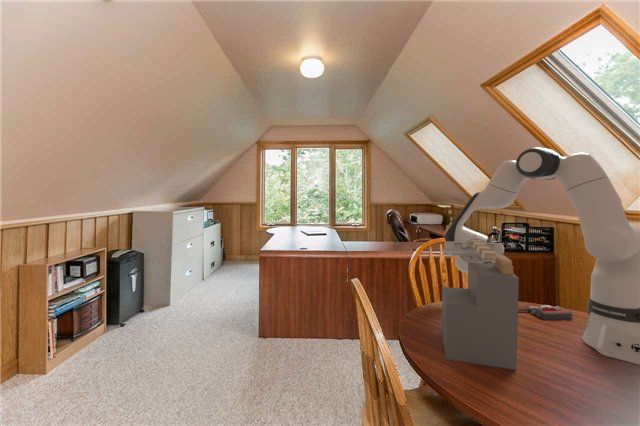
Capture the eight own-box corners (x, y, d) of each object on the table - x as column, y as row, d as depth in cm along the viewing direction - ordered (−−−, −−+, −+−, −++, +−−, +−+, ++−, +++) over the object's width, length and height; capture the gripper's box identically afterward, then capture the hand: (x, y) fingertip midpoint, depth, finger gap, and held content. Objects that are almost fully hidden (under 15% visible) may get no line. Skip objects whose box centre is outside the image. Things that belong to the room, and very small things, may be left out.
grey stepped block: (441, 334, 101) (442, 250, 99) (500, 342, 95) (502, 253, 93) (446, 359, 86) (446, 260, 84) (516, 370, 80) (519, 264, 78)
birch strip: (469, 243, 109) (469, 238, 109) (478, 244, 108) (478, 238, 108) (484, 259, 84) (484, 252, 84) (496, 260, 83) (496, 253, 83)
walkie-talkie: (558, 311, 119) (509, 311, 120) (558, 301, 119) (509, 301, 120) (576, 320, 111) (524, 320, 111) (577, 309, 110) (524, 309, 111)
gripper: (441, 245, 121) (444, 233, 109) (497, 247, 114) (506, 234, 103) (442, 260, 118) (445, 248, 107) (499, 263, 112) (509, 251, 100)
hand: (475, 241), depth 105 cm, fingers closed on birch strip, 3 cm apart
